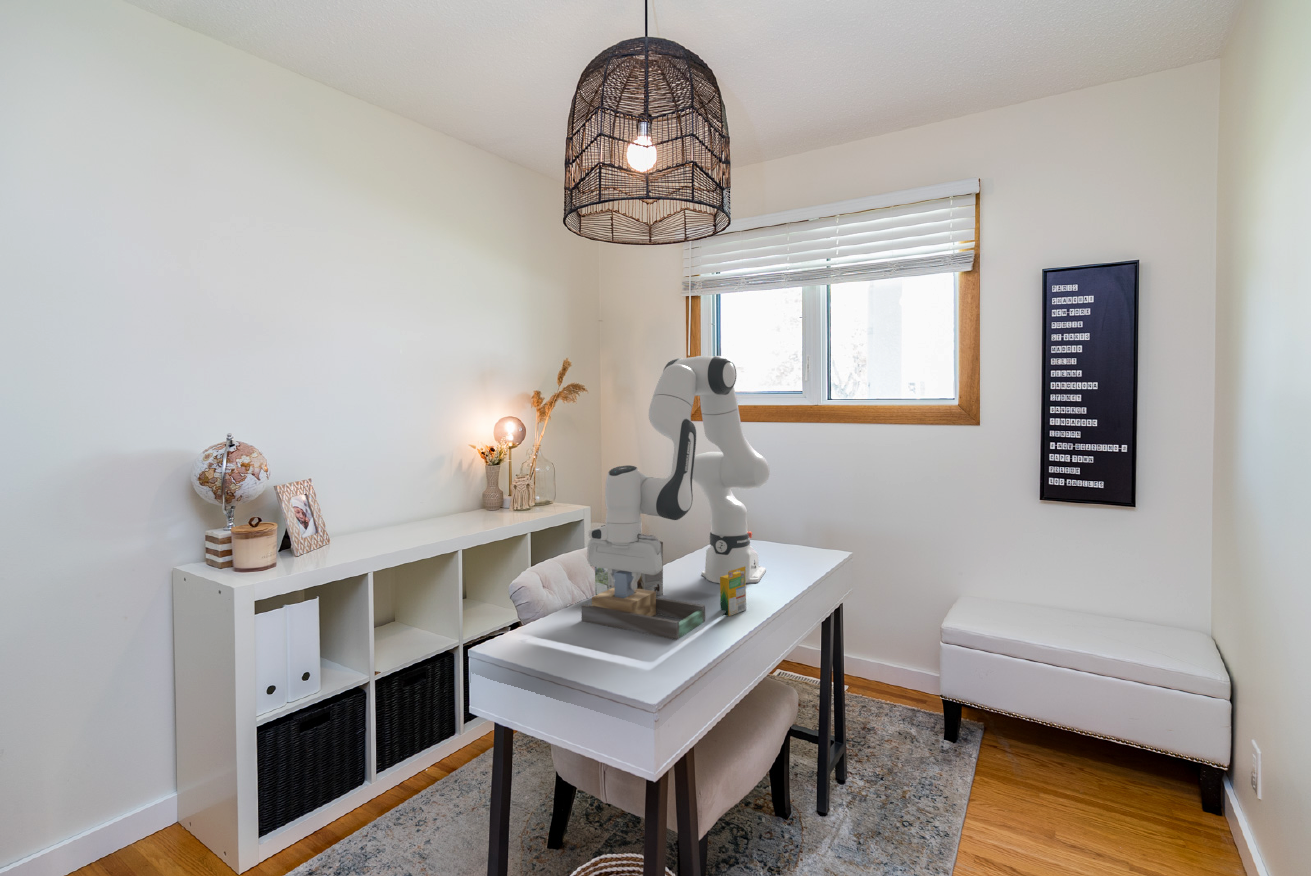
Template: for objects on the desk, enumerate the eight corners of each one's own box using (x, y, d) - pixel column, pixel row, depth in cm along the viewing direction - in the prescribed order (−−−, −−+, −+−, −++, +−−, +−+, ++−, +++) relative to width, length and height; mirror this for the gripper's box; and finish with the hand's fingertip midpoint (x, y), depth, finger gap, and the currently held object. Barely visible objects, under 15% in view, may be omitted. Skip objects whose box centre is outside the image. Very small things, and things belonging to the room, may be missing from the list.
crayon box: (737, 607, 169) (737, 564, 168) (746, 610, 167) (746, 566, 166) (719, 614, 164) (719, 569, 163) (728, 616, 162) (728, 571, 161)
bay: (614, 609, 169) (614, 590, 168) (705, 625, 155) (704, 605, 155) (581, 625, 156) (581, 605, 156) (676, 645, 143) (676, 623, 143)
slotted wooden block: (618, 607, 166) (617, 585, 166) (656, 614, 161) (655, 591, 160) (592, 620, 157) (591, 597, 156) (631, 628, 151) (631, 603, 150)
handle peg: (622, 608, 161) (622, 569, 160) (634, 610, 159) (633, 571, 159) (614, 612, 158) (614, 572, 157) (626, 614, 156) (626, 574, 156)
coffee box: (628, 594, 182) (627, 538, 182) (648, 590, 186) (647, 535, 185) (643, 602, 174) (643, 543, 174) (664, 598, 178) (663, 541, 177)
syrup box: (624, 599, 177) (623, 547, 176) (608, 604, 173) (607, 551, 172) (610, 595, 181) (609, 545, 180) (594, 600, 176) (593, 548, 176)
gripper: (666, 533, 155) (667, 590, 156) (597, 526, 165) (598, 579, 166) (653, 538, 149) (654, 597, 150) (583, 530, 160) (584, 585, 161)
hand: (624, 587), depth 158 cm, fingers closed on handle peg, 3 cm apart
